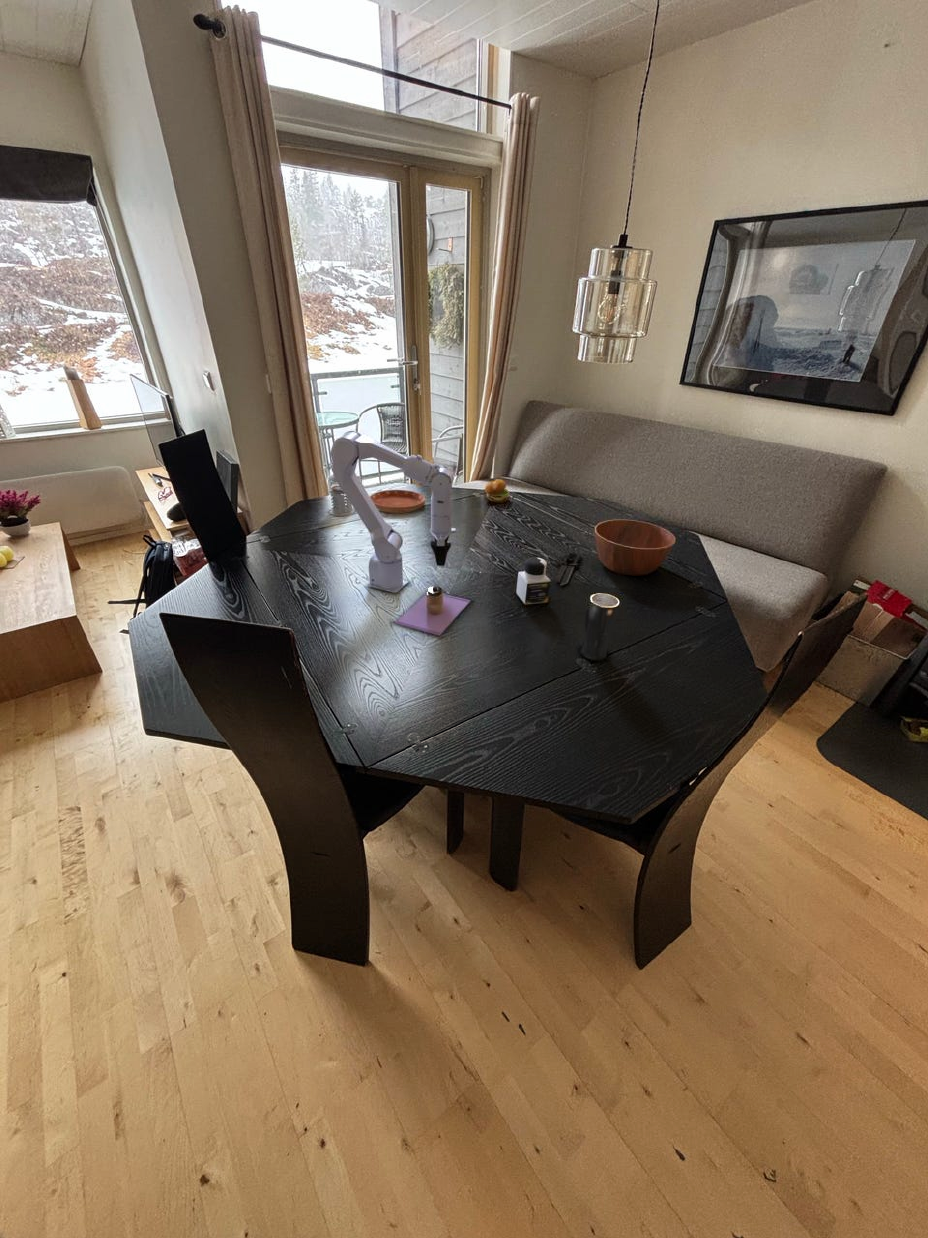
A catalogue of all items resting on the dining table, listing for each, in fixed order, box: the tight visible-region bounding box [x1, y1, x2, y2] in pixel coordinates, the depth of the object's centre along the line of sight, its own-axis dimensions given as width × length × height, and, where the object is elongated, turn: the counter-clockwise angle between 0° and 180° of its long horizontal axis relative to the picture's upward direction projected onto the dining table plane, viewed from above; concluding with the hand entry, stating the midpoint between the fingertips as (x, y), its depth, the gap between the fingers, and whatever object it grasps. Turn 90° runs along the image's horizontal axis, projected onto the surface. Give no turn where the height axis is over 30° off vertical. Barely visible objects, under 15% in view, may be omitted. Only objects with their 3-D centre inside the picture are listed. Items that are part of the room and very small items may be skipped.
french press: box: [327, 474, 356, 517], centre depth 193 cm, size 10×12×25 cm
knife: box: [554, 551, 581, 586], centre depth 161 cm, size 25×6×1 cm, turn 154°
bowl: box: [594, 519, 676, 577], centre depth 163 cm, size 25×25×11 cm
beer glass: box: [580, 593, 620, 662], centre depth 118 cm, size 7×7×15 cm
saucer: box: [369, 489, 426, 514], centre depth 207 cm, size 23×23×4 cm
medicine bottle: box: [515, 557, 551, 606], centre depth 142 cm, size 7×7×12 cm
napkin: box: [394, 593, 471, 637], centre depth 136 cm, size 13×20×1 cm, turn 156°
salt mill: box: [426, 585, 444, 615], centre depth 134 cm, size 4×4×8 cm
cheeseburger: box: [484, 478, 510, 504], centre depth 217 cm, size 10×11×10 cm
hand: (440, 559), depth 143 cm, fingers open, 7 cm apart
